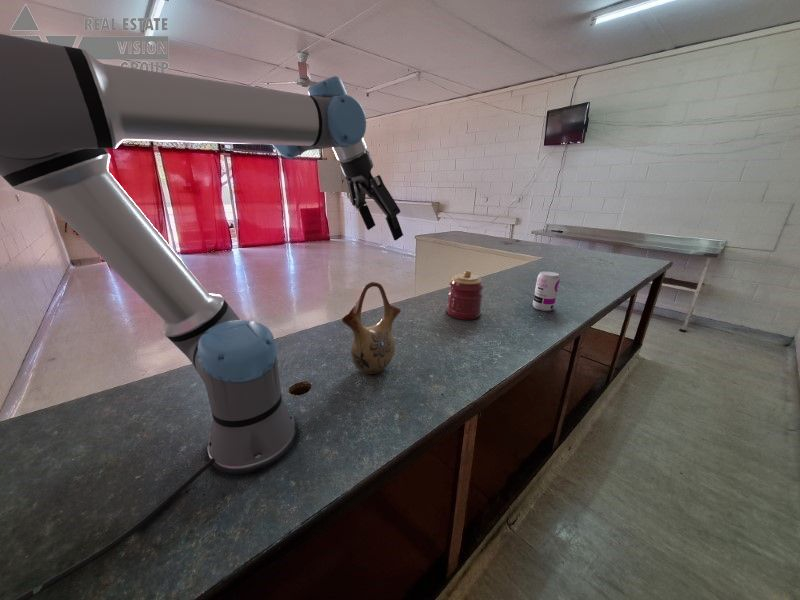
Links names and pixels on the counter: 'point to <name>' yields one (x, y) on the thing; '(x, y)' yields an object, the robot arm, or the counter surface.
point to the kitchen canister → (465, 296)
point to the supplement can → (546, 290)
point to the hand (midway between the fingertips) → (384, 232)
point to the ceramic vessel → (372, 335)
